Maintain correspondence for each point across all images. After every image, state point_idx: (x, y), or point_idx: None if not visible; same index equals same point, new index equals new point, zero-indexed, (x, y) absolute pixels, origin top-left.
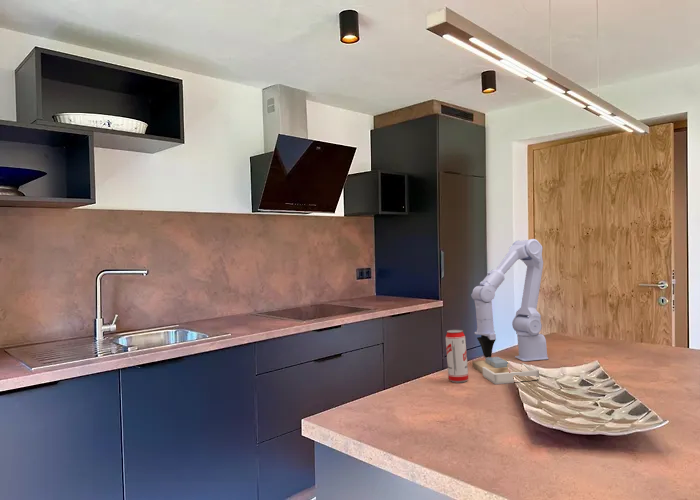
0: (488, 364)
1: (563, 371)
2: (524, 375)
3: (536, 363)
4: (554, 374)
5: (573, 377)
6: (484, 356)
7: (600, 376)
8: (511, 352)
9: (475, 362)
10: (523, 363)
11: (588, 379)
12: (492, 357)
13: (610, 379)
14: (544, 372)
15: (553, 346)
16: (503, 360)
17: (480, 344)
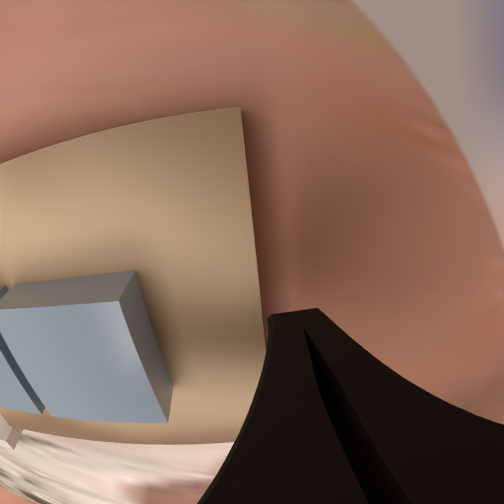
0: (31, 274)
1: (80, 491)
2: None
3: None
4: (30, 462)
5: (11, 469)
6: (311, 311)
7: (40, 500)
8: (496, 412)
9: (156, 139)
10: (11, 447)
11: (3, 475)
12: (130, 377)
13: (19, 494)
14: (52, 459)
15: None
16: (6, 400)
17: (436, 409)
